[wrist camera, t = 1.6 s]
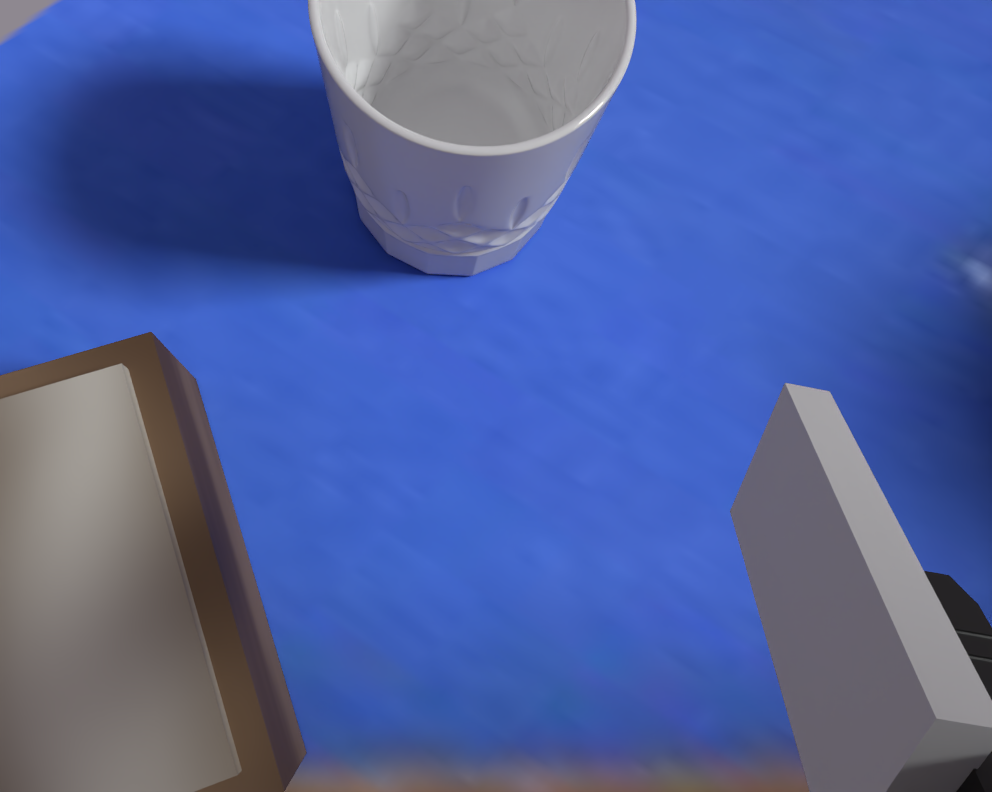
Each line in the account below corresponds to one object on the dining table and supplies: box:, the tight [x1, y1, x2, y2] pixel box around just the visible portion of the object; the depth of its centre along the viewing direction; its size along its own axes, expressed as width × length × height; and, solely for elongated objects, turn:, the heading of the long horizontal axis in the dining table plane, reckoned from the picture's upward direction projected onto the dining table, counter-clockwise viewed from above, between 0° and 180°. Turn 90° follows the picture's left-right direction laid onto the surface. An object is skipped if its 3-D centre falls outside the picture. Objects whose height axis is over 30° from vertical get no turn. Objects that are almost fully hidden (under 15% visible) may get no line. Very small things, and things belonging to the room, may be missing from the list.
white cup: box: [308, 0, 636, 276], centre depth 26 cm, size 8×8×10 cm
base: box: [0, 332, 306, 792], centre depth 24 cm, size 12×12×6 cm
